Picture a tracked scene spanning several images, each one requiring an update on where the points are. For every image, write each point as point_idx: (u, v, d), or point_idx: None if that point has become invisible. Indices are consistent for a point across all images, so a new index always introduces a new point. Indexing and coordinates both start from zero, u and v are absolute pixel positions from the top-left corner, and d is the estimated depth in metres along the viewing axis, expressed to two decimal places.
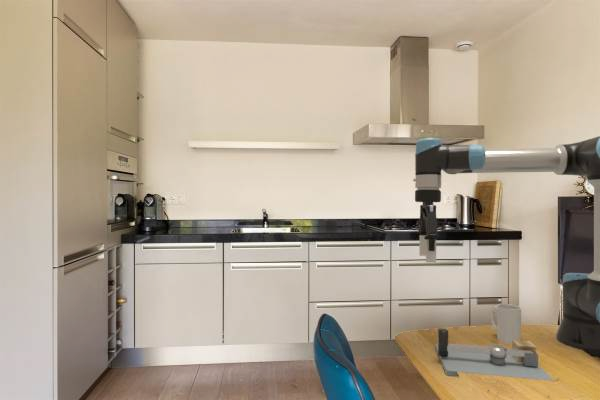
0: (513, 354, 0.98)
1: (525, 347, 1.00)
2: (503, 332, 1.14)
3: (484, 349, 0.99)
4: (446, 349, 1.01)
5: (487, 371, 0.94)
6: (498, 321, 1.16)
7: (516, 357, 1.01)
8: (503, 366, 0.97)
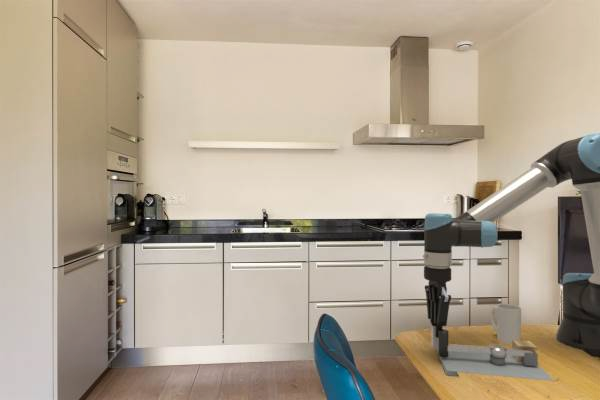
0: (513, 354, 0.98)
1: (525, 347, 1.00)
2: (503, 332, 1.14)
3: (484, 350, 0.99)
4: (446, 350, 1.01)
5: (487, 371, 0.94)
6: (498, 321, 1.16)
7: (516, 357, 1.01)
8: (503, 366, 0.97)
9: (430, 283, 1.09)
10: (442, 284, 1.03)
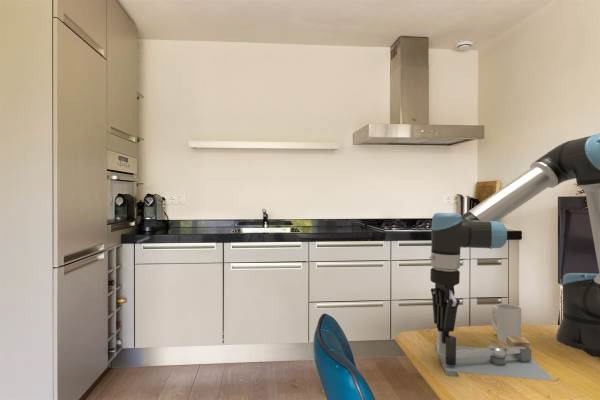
0: (511, 352, 0.99)
1: (519, 343, 1.03)
2: (503, 332, 1.14)
3: (488, 351, 0.98)
4: (455, 357, 0.96)
5: (487, 371, 0.94)
6: (498, 321, 1.16)
7: None
8: (503, 366, 0.97)
9: (437, 286, 1.03)
10: (450, 287, 0.97)
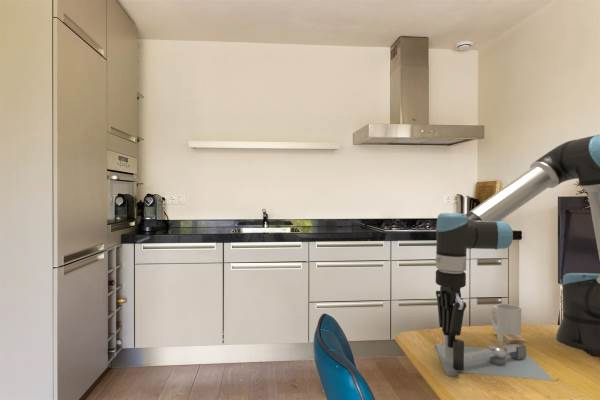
0: (509, 351, 1.00)
1: (516, 341, 1.04)
2: (503, 332, 1.14)
3: (490, 352, 0.97)
4: (463, 361, 0.94)
5: (487, 371, 0.94)
6: (498, 321, 1.16)
7: None
8: (503, 366, 0.97)
9: (442, 288, 1.00)
10: (456, 290, 0.95)
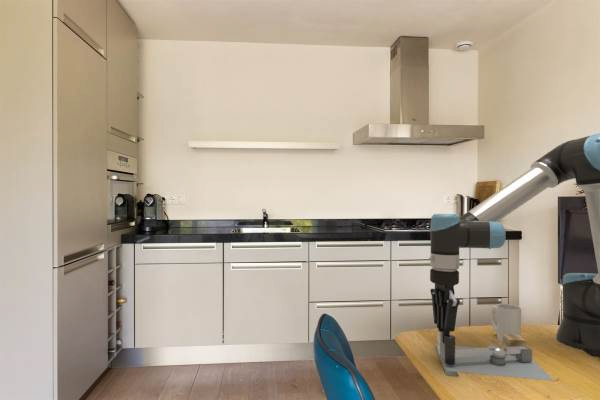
0: (511, 352, 0.99)
1: (516, 341, 1.04)
2: (503, 332, 1.14)
3: (487, 351, 0.98)
4: (454, 356, 0.97)
5: (487, 371, 0.94)
6: (498, 321, 1.16)
7: None
8: (503, 366, 0.97)
9: (436, 286, 1.04)
10: (450, 287, 0.98)
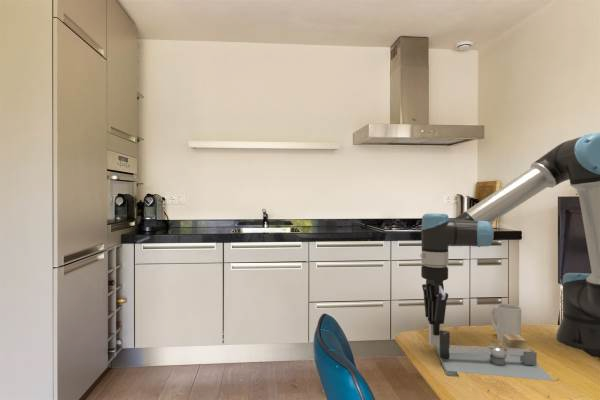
0: (513, 353, 0.98)
1: (516, 341, 1.04)
2: (503, 332, 1.14)
3: (485, 350, 0.99)
4: (448, 351, 1.00)
5: (487, 371, 0.94)
6: (498, 321, 1.16)
7: None
8: (503, 366, 0.97)
9: (427, 282, 1.11)
10: (439, 283, 1.05)
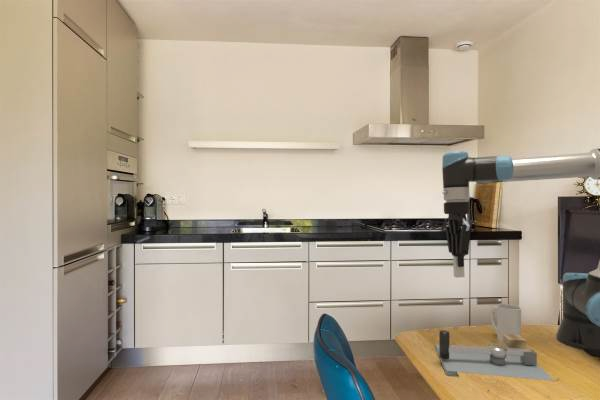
0: (513, 353, 0.98)
1: (516, 341, 1.04)
2: (503, 332, 1.14)
3: (485, 350, 0.99)
4: (448, 351, 1.00)
5: (487, 371, 0.94)
6: (498, 321, 1.16)
7: None
8: (503, 366, 0.97)
9: (450, 218, 1.16)
10: (462, 215, 1.11)
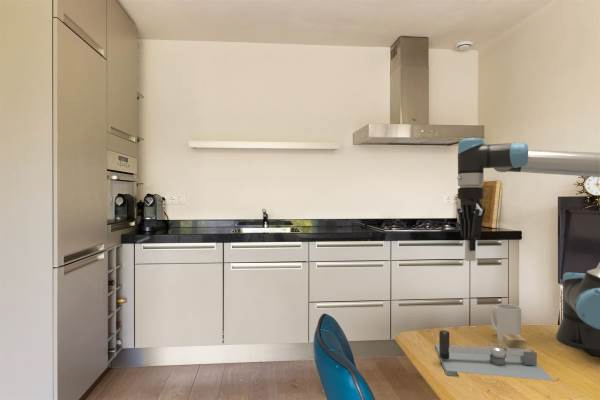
0: (513, 353, 0.98)
1: (516, 341, 1.04)
2: (503, 332, 1.14)
3: (485, 350, 0.99)
4: (448, 351, 1.00)
5: (487, 371, 0.94)
6: (498, 321, 1.16)
7: None
8: (503, 366, 0.97)
9: (463, 204, 1.19)
10: (476, 200, 1.14)
